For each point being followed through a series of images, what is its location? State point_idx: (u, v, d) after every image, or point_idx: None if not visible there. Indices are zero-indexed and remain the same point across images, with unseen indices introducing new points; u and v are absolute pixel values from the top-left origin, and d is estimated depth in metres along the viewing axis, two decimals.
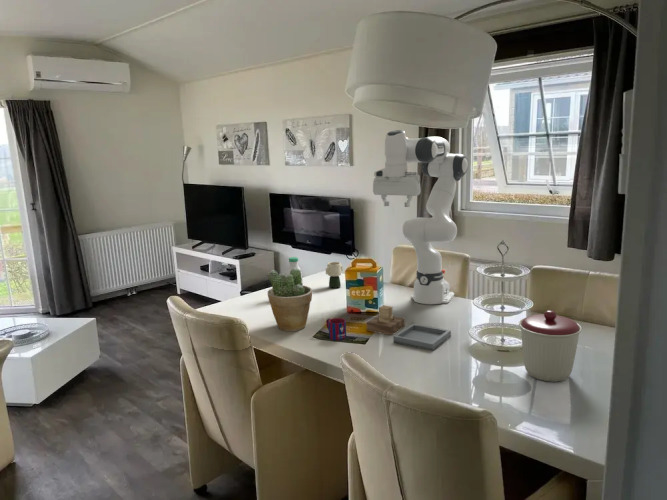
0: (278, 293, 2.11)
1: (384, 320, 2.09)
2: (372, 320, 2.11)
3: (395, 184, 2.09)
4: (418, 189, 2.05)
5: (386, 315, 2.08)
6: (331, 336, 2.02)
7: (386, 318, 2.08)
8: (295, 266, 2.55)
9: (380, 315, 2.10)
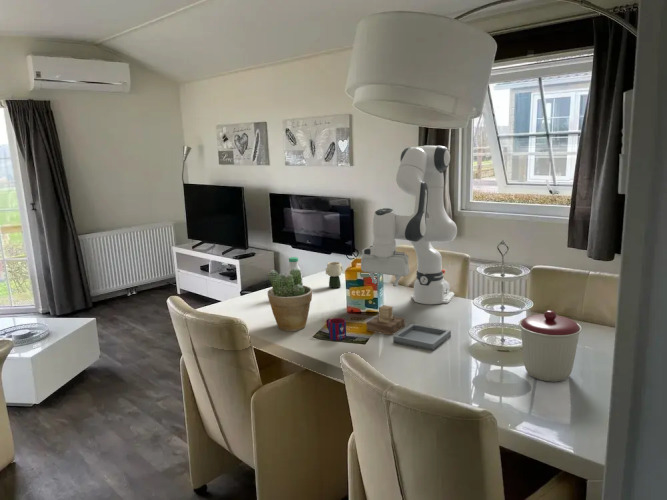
0: (278, 293, 2.11)
1: (384, 320, 2.09)
2: (372, 320, 2.11)
3: (383, 263, 2.05)
4: (406, 270, 2.01)
5: (386, 315, 2.08)
6: (331, 336, 2.02)
7: (386, 318, 2.08)
8: (295, 266, 2.55)
9: (380, 315, 2.10)
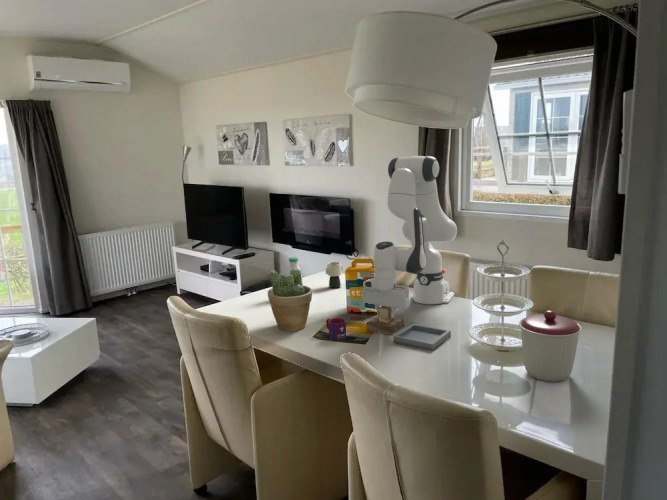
0: (278, 293, 2.11)
1: (384, 320, 2.09)
2: (372, 320, 2.11)
3: (384, 295, 2.08)
4: (407, 303, 2.03)
5: (386, 315, 2.08)
6: (331, 336, 2.02)
7: (386, 318, 2.08)
8: (295, 266, 2.55)
9: (380, 315, 2.10)
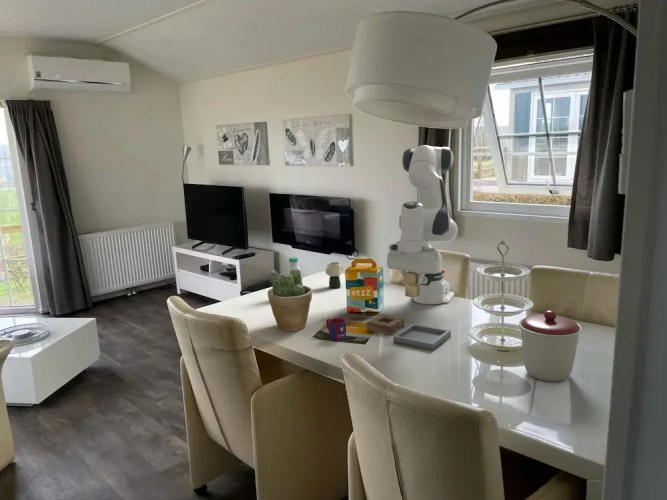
0: (278, 293, 2.11)
1: (411, 287, 1.95)
2: (372, 320, 2.11)
3: (411, 259, 1.94)
4: (436, 267, 1.89)
5: (413, 281, 1.94)
6: (331, 336, 2.02)
7: (413, 284, 1.94)
8: (295, 266, 2.55)
9: (406, 281, 1.96)
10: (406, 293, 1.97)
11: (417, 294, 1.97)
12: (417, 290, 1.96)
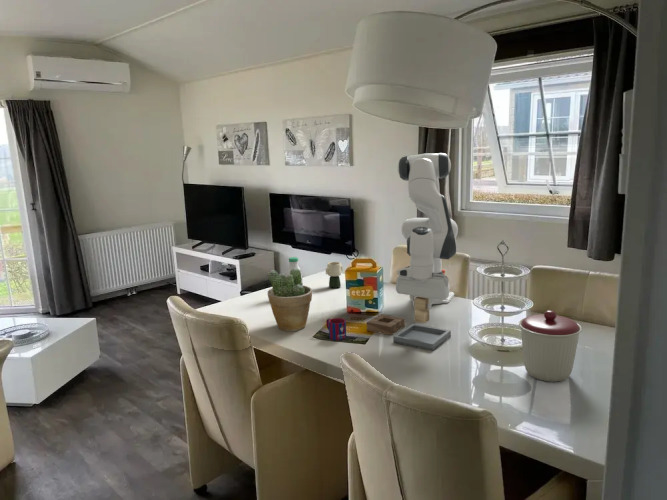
0: (278, 293, 2.11)
1: (420, 312, 1.94)
2: (372, 320, 2.11)
3: (421, 285, 1.93)
4: (446, 293, 1.88)
5: (423, 306, 1.93)
6: (331, 336, 2.02)
7: (423, 309, 1.93)
8: (295, 266, 2.55)
9: (416, 306, 1.95)
10: (415, 318, 1.96)
11: (427, 319, 1.95)
12: (427, 316, 1.95)
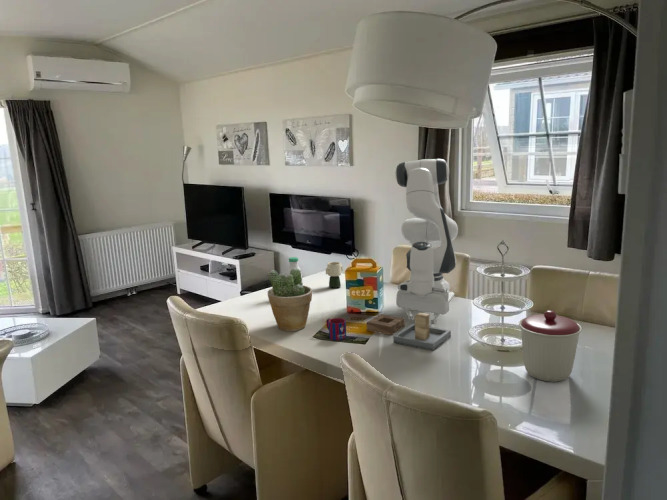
0: (278, 293, 2.11)
1: (421, 329, 1.96)
2: (372, 320, 2.11)
3: (421, 299, 1.94)
4: (446, 307, 1.90)
5: (423, 323, 1.94)
6: (331, 336, 2.02)
7: (423, 327, 1.95)
8: (295, 266, 2.55)
9: (416, 323, 1.96)
10: (416, 335, 1.97)
11: (427, 336, 1.97)
12: (427, 333, 1.97)
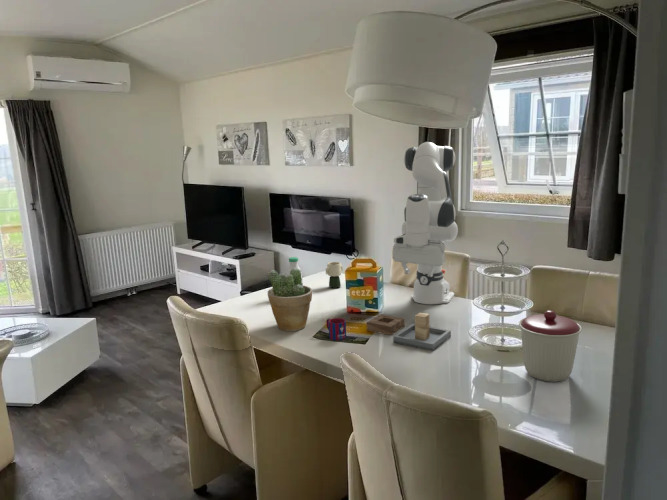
0: (278, 293, 2.11)
1: (421, 329, 1.96)
2: (372, 320, 2.11)
3: (417, 252, 1.93)
4: (443, 259, 1.89)
5: (423, 323, 1.94)
6: (331, 336, 2.02)
7: (423, 327, 1.95)
8: (295, 266, 2.55)
9: (416, 323, 1.96)
10: (416, 335, 1.97)
11: (427, 336, 1.97)
12: (427, 333, 1.97)
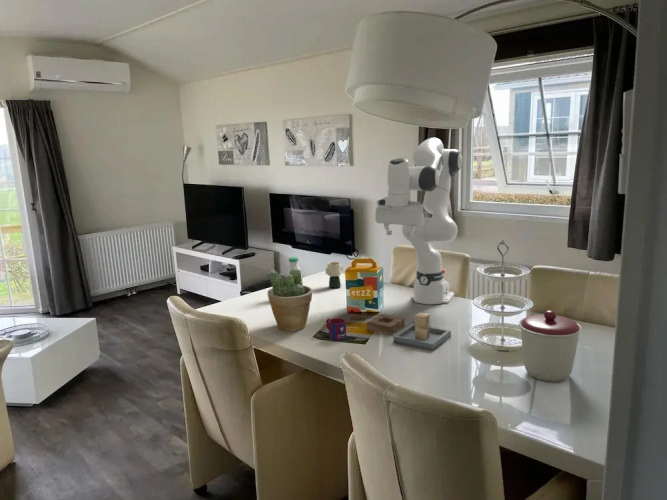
0: (278, 293, 2.11)
1: (421, 329, 1.96)
2: (372, 320, 2.11)
3: (398, 213, 2.05)
4: (422, 219, 2.01)
5: (423, 323, 1.94)
6: (331, 336, 2.02)
7: (423, 327, 1.95)
8: (295, 266, 2.55)
9: (416, 323, 1.96)
10: (416, 335, 1.97)
11: (427, 336, 1.97)
12: (427, 333, 1.97)
